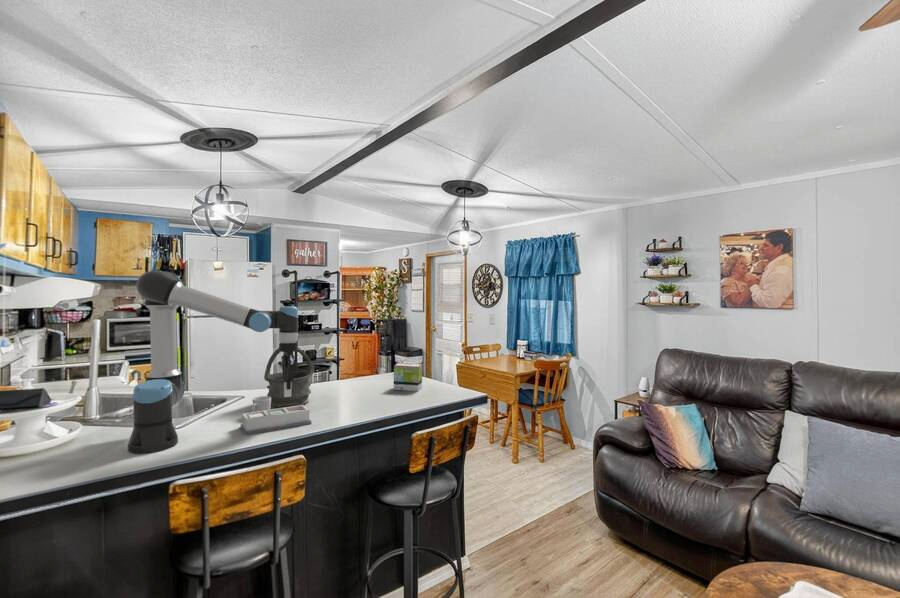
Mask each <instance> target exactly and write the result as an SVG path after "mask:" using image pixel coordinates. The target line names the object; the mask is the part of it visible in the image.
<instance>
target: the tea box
mask: <svg viewBox="0 0 900 598" xmlns="http://www.w3.org/2000/svg"><path fill="white" fill-rule="evenodd" d="M422 387H423V364H422V363H412V362H409V363H408V362H398V363H396V364H395V365H393V390H394V391H409V392H410V391H411V392H419V391H420V390H421V389H422Z"/></svg>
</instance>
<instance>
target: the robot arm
mask: <svg viewBox="0 0 900 598" xmlns="http://www.w3.org/2000/svg"><path fill="white" fill-rule="evenodd" d="M136 290H137V292H138V294H139V295H140V296H141V297H142V298H143V299H144V305H145V307H146V308H147V309H148V310H149V319H150V320H149V321H150V322H149V324H150V328H149V330H150V372H149V373H148V374H147V375H146V381H142V382H140V383H138V384H136V385H135V386H134V389H133V393H132V400H133V403H132V404H133V429H132V432H131V434H130V437H129V440H128V443H127V451H128V453H132V454H148V453H156V452H160V451H164V450H167V449H169V448H172V447H174V446H176V445H178V443H179V438H178V437H179V436H178V434H177V431H176V429H175V426H174V423H173V407H174V405H177V404H178V403H179V401H181V400H182V398H183V396H184V393H185V391H186V387H185V386H186V385H185V383H184V381H183V377H182V375H183V373H182V371H181V370H180V369H178V350H177V349H178V348H177V345H178V343H177V339H178V337H177V310H178V308H179V307H181V308H185V309H189V310H191V311H194V312H198V313H201V314H204V315H207V316H209V317H210V316H211V317H214V318H216V319H220V320H223V321H226V322H229V323H233V324H235V325H239V326H241V327H245V328H248V329H250V330H252V331H254V332H256V333H263V332H266V331H267V330H268V329H279V331H278V342H279V343H278V348H279V351H280V353H283V355H282V356H281V357H280V358H281V366H282V367H281V369H282V370H281V371H282V372H283V379H284V397H291V387H292V381H293V377H294V371H295V366H296V365H295V364H296V359H295V355H294V352H297V350H298V347H299V345H298V337H299V336H300V335H299V333H298V331H299V309H298V307H297V306H293V305H292V306H289V305H288V306H287V305H286V306H285V305H283V306H282V305H281V306H280V307H279V309H278V310H275V311H274V310H257V309H255V308H251V307H247V306H245V305H243V304H239V303H236V302H234V301H231V300H227V299H224V298H221V297H218V296H215V295H213V294H210V293H207V292H204V291H201V290H197V289H195V288H191V287H189V286H187V285H184V284H183V282H182V280H181V279H180V277H179V276H178V275H176V274H175V273H172V272H170V271H165V270H164V271H160V270H149V271H146V272H144V273H143V274H141V275H140V276H139V277H138V279H137V281H136ZM282 372H281V373H282Z"/></svg>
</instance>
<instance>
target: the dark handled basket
mask: <svg viewBox="0 0 900 598" xmlns="http://www.w3.org/2000/svg"><path fill="white" fill-rule="evenodd" d="M296 352H297V353H299V354H300V355H301V356H302V357H303V359H304V360H305V362H306V364H307V370H301V371H299V370H297V371H296V370H294V377H293V381H292V387H291V397H284V379H283V372H275V373H272V374H271V368H272V365H273V362H274V361H275V359H276V358H277V356H278V355H279V354H280V353H281V352H280V351H279V347H277V348H276V349H275V350H274V351H273V353H272V354H271V356H270V357H269V359H268V361H267V364H266V366H265V372H264V375H263V376H264V377H263V378H264V381H265V382H268V385H267V386H266V388H267V389H268V393H267V394H266V396H269V397H271V407H273V408H277V409H278V408H285V407H292V406H299V405H304V406H305V405H306V404H309V401H310V400H309V396H310V394H311V393H312V390H311V389H310V387H311V382H309V379H310V378H312V376H313V374H314V373H315V366H314V365H313V362H312V360H311V359H310V357H309V356H308V355H307V354H306V353H305V351H304V350H302V349H301V348H300V347H299V346H298V350H297V351H296Z"/></svg>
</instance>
